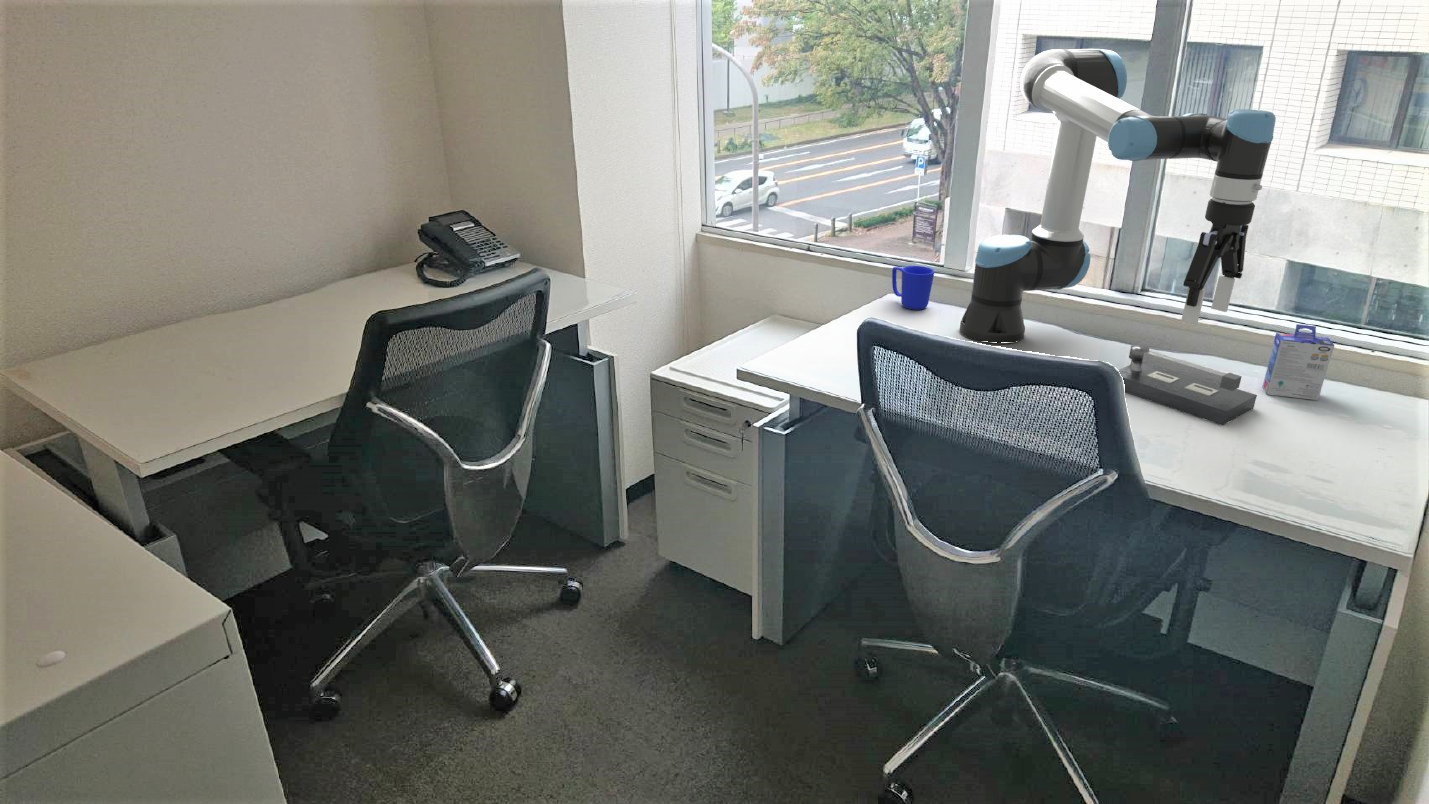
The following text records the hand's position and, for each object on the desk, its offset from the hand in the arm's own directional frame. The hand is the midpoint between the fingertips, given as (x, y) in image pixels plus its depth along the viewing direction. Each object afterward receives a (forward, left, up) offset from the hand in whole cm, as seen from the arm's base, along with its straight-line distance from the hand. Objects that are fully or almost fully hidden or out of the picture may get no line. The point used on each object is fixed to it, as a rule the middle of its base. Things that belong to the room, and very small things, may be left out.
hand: (1204, 315), depth 175 cm
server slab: (-4, +7, -20) cm, 22 cm away
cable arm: (-5, +7, -15) cm, 17 cm away
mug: (-78, +9, -20) cm, 81 cm away
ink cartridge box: (+9, +28, -20) cm, 36 cm away
